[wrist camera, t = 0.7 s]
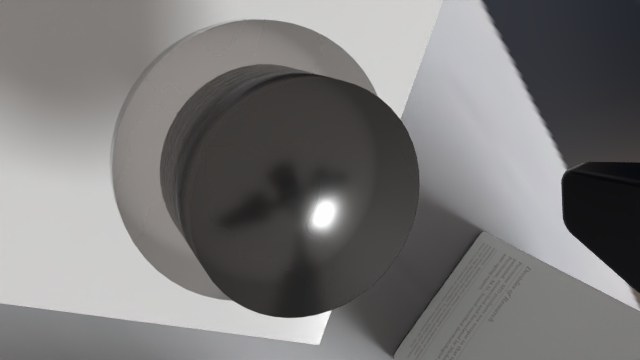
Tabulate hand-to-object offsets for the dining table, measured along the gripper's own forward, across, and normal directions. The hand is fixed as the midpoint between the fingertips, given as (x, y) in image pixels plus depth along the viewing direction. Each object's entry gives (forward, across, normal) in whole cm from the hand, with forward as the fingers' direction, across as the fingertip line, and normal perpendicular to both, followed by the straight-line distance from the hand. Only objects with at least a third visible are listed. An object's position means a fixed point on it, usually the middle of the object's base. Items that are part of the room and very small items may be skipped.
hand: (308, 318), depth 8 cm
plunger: (+10, -1, 0) cm, 10 cm away
